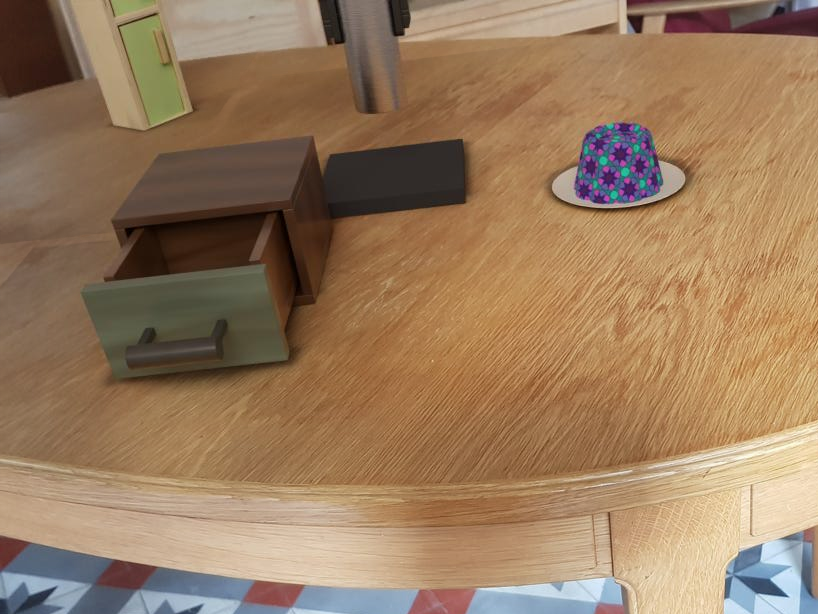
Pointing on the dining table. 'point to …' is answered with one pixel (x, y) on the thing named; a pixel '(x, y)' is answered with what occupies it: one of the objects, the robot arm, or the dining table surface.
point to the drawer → (196, 296)
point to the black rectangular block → (395, 178)
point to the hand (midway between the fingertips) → (369, 37)
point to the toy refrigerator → (133, 60)
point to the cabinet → (240, 196)
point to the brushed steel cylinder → (372, 55)
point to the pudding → (618, 170)
